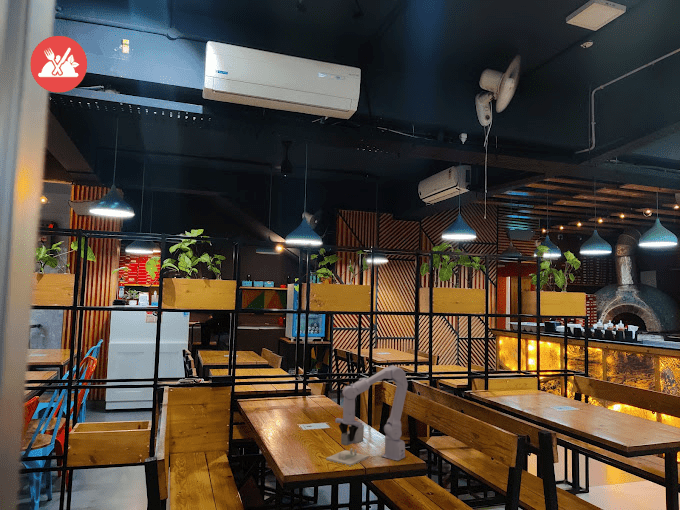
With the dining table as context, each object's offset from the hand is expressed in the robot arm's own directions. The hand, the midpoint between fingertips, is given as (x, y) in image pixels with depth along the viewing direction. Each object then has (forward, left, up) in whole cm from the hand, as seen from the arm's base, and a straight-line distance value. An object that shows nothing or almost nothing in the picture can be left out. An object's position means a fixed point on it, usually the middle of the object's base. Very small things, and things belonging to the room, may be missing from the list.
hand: (348, 440), depth 243 cm
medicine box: (+13, -27, -9) cm, 31 cm away
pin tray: (0, 0, -9) cm, 9 cm away
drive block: (0, 0, -2) cm, 2 cm away
